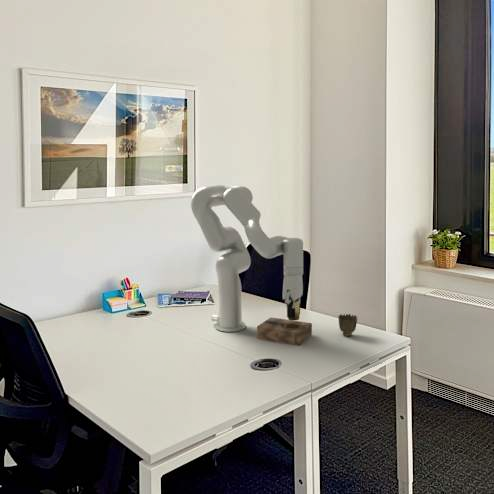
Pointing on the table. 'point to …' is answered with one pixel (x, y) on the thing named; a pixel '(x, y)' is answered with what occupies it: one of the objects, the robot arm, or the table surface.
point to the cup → (347, 324)
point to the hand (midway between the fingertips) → (293, 315)
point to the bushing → (296, 311)
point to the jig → (284, 331)
